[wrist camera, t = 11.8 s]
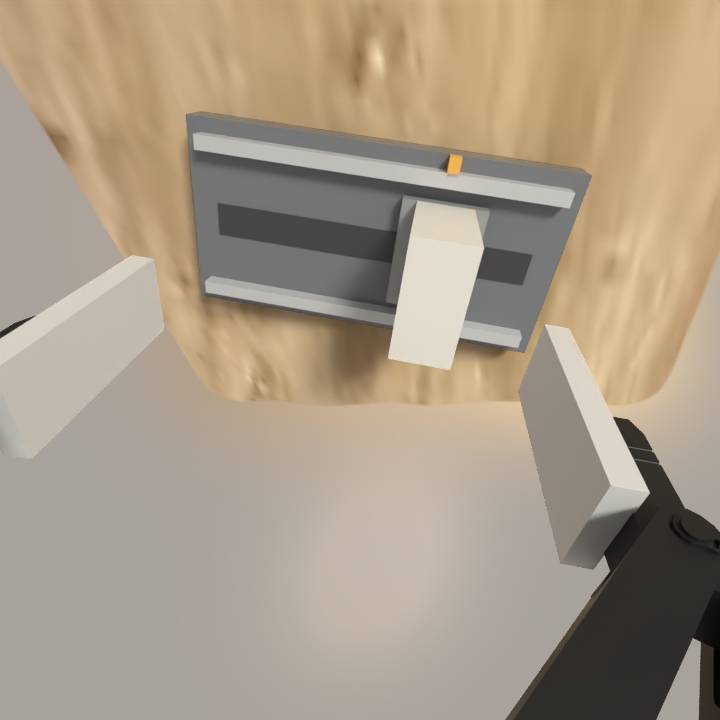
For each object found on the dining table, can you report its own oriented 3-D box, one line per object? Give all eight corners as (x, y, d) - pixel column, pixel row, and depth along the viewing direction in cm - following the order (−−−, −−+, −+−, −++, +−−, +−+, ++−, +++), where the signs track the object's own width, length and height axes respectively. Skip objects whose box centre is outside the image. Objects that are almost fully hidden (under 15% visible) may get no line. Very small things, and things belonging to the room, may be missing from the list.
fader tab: (387, 297, 36) (372, 355, 29) (403, 195, 32) (391, 232, 24) (461, 309, 36) (465, 372, 28) (488, 208, 31) (502, 251, 24)
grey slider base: (214, 283, 41) (195, 301, 38) (201, 111, 33) (177, 115, 30) (520, 338, 39) (526, 360, 36) (582, 168, 32) (597, 179, 28)
